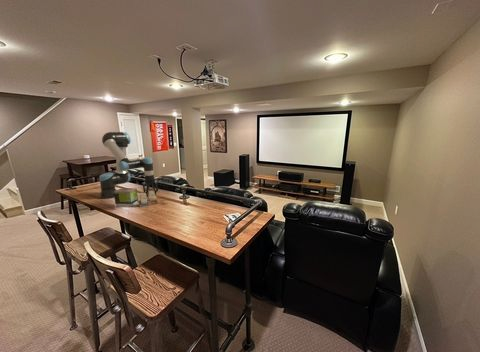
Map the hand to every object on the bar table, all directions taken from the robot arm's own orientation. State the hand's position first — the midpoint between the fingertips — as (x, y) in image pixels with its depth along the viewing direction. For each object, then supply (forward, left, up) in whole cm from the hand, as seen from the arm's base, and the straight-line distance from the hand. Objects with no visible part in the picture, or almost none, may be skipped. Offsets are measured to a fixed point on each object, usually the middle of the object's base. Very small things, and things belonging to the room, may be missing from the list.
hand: (151, 199), depth 177 cm
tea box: (-3, -20, -3) cm, 20 cm away
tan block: (+8, -7, -1) cm, 11 cm away
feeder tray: (-1, 0, -2) cm, 3 cm away
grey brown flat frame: (+8, -4, -2) cm, 9 cm away
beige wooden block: (0, 0, -2) cm, 2 cm away
